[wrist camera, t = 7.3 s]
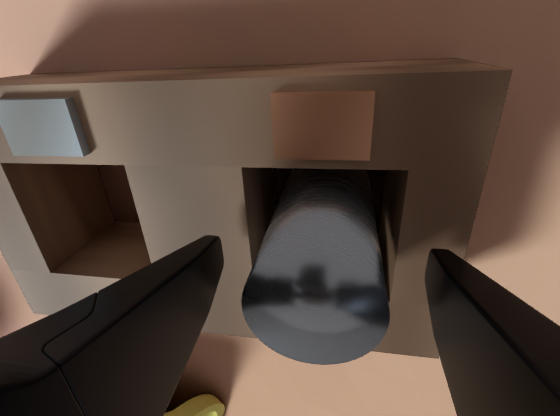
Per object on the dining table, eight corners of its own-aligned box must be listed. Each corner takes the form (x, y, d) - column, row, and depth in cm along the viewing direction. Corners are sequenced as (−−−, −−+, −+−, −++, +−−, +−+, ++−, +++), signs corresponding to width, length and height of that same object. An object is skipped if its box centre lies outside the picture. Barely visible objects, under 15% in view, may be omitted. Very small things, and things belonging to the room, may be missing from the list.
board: (456, 58, 10) (519, 71, 7) (416, 281, 15) (440, 366, 11) (28, 74, 13) (-97, 90, 10) (95, 257, 17) (27, 318, 14)
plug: (372, 147, 12) (399, 258, 6) (366, 222, 14) (382, 372, 8) (287, 146, 13) (234, 247, 7) (289, 218, 14) (248, 355, 8)
